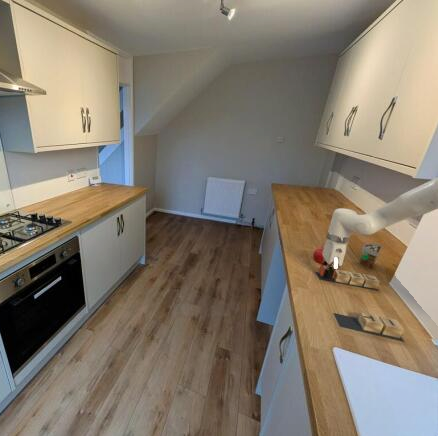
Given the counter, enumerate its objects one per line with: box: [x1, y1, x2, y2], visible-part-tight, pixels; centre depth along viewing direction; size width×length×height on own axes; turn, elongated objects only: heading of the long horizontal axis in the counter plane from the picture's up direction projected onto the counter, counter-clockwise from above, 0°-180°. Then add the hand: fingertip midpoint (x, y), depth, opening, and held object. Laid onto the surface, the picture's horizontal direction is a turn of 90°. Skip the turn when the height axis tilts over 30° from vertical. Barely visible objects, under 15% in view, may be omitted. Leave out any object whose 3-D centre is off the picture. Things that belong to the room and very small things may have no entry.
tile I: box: [378, 315, 405, 338], centre depth 77 cm, size 4×4×4 cm
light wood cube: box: [361, 273, 380, 289], centre depth 101 cm, size 4×4×4 cm
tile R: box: [333, 269, 350, 284], centre depth 104 cm, size 4×4×4 cm
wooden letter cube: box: [347, 271, 365, 286], centre depth 102 cm, size 4×4×4 cm
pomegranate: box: [312, 245, 333, 265], centre depth 118 cm, size 10×10×9 cm
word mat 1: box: [315, 271, 380, 292], centre depth 104 cm, size 21×7×1 cm, turn 69°
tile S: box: [318, 264, 335, 278], centre depth 105 cm, size 4×4×4 cm
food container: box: [359, 242, 383, 270], centre depth 117 cm, size 12×6×10 cm, turn 130°
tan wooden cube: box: [358, 311, 384, 333], centre depth 79 cm, size 4×4×4 cm
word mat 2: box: [332, 312, 406, 343], centre depth 80 cm, size 17×7×1 cm, turn 69°
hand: (325, 274), depth 106 cm, fingers closed on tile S, 4 cm apart
